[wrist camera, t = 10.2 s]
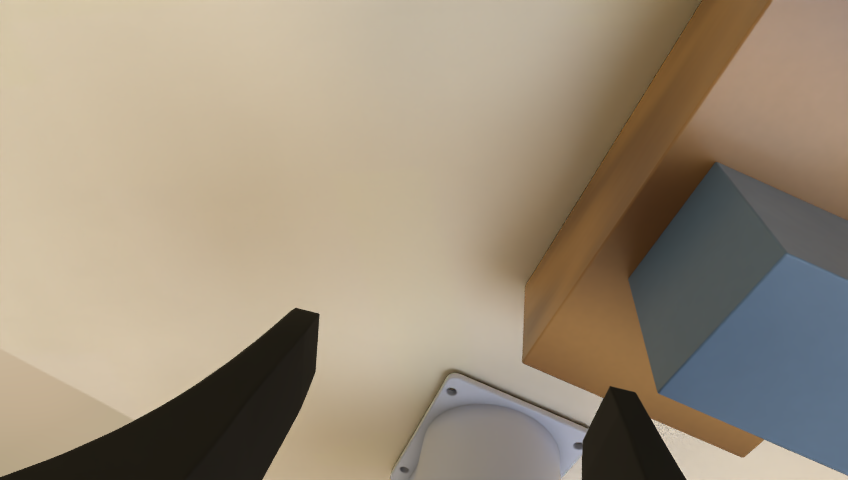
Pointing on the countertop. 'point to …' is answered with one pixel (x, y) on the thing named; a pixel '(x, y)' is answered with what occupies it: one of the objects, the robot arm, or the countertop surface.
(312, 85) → the countertop surface
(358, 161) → the countertop surface
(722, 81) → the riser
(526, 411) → the robot arm
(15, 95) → the countertop surface
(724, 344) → the blue box
